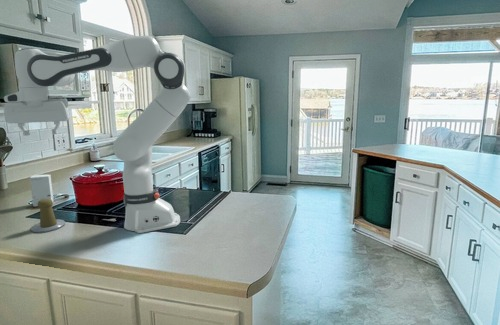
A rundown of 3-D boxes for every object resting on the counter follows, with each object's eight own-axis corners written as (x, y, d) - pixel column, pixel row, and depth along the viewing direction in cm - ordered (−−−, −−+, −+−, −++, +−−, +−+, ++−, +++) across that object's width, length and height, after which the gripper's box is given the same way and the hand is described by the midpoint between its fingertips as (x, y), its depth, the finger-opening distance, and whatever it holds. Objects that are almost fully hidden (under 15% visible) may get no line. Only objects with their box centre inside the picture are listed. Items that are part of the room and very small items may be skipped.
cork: (49, 228, 131) (44, 202, 128) (36, 227, 132) (32, 201, 130) (60, 222, 136) (56, 197, 134) (48, 221, 138) (44, 196, 135)
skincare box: (33, 207, 159) (28, 177, 156) (35, 203, 165) (31, 175, 162) (52, 204, 163) (48, 175, 159) (54, 201, 168) (50, 173, 165)
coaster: (68, 219, 141) (68, 218, 141) (59, 230, 130) (59, 228, 130) (38, 223, 139) (37, 221, 138) (26, 234, 127) (25, 232, 127)
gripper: (69, 95, 121) (74, 132, 124) (7, 97, 117) (14, 135, 120) (64, 95, 115) (69, 134, 118) (-2, 97, 111) (5, 137, 114)
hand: (41, 134), depth 119 cm, fingers open, 8 cm apart
